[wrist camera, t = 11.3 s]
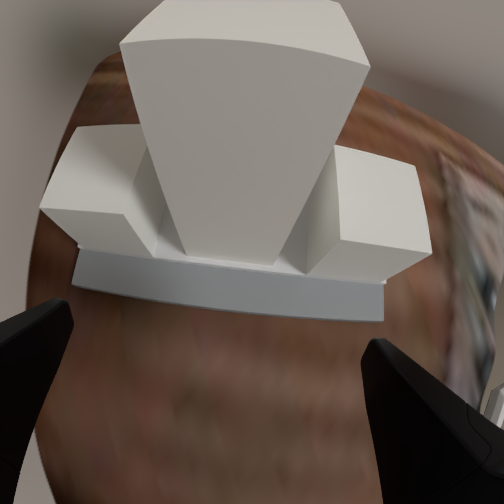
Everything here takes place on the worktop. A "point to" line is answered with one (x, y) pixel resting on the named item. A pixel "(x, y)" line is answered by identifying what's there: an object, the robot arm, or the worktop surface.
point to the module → (241, 113)
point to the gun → (495, 406)
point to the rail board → (227, 272)
